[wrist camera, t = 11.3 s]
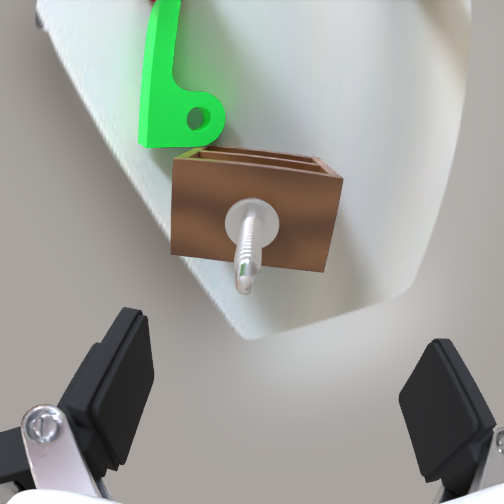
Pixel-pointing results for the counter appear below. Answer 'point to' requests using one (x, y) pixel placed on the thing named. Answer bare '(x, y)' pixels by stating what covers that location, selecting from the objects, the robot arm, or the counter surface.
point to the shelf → (254, 186)
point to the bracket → (171, 90)
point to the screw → (250, 237)
